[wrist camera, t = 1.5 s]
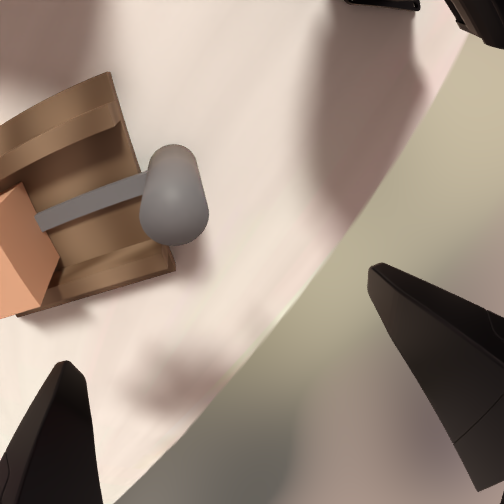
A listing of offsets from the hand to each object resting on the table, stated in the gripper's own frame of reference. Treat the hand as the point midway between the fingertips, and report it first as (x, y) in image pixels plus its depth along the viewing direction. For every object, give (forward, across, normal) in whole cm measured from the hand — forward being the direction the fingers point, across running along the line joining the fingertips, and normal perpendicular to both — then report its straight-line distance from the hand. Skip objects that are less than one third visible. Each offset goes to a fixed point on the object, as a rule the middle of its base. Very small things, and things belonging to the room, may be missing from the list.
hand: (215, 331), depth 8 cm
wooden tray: (+13, +10, -1) cm, 17 cm away
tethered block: (+13, +8, -1) cm, 15 cm away
